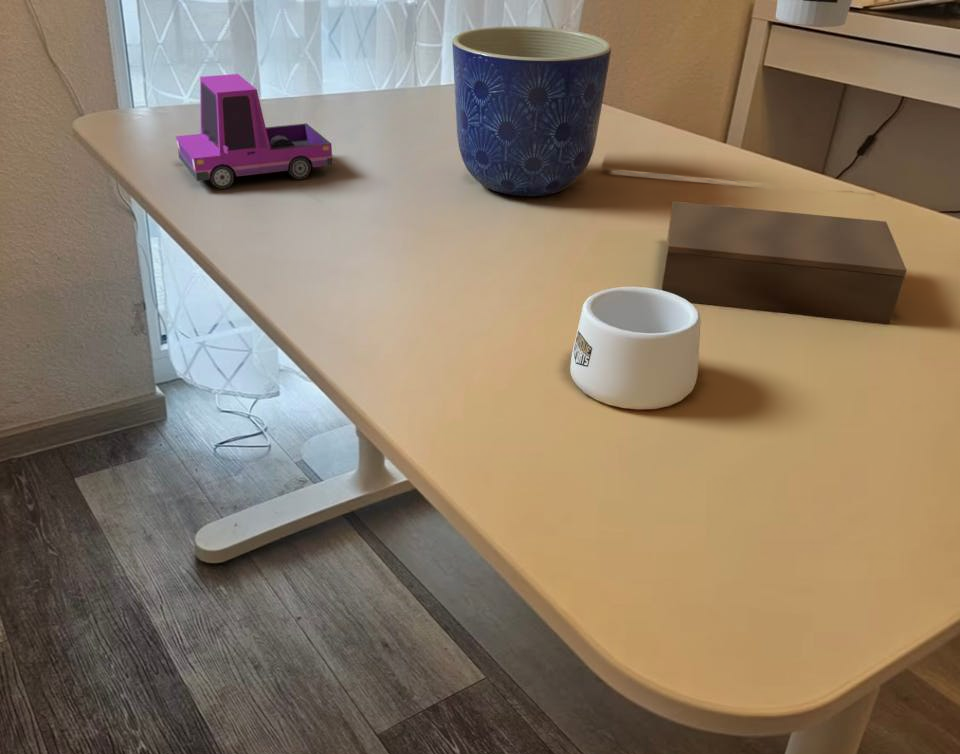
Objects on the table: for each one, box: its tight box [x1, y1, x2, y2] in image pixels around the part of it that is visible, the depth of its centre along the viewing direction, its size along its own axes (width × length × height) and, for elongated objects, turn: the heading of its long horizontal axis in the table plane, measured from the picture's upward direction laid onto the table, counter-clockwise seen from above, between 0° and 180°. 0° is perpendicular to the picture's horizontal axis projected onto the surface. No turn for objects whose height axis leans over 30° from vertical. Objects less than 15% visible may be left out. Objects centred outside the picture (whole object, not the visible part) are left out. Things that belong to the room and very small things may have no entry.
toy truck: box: [175, 73, 334, 190], centre depth 108 cm, size 11×16×10 cm
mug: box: [569, 286, 702, 410], centre depth 72 cm, size 12×10×6 cm
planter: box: [451, 25, 612, 197], centre depth 106 cm, size 17×17×15 cm
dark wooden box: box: [660, 200, 907, 325], centre depth 88 cm, size 20×12×5 cm, turn 79°
